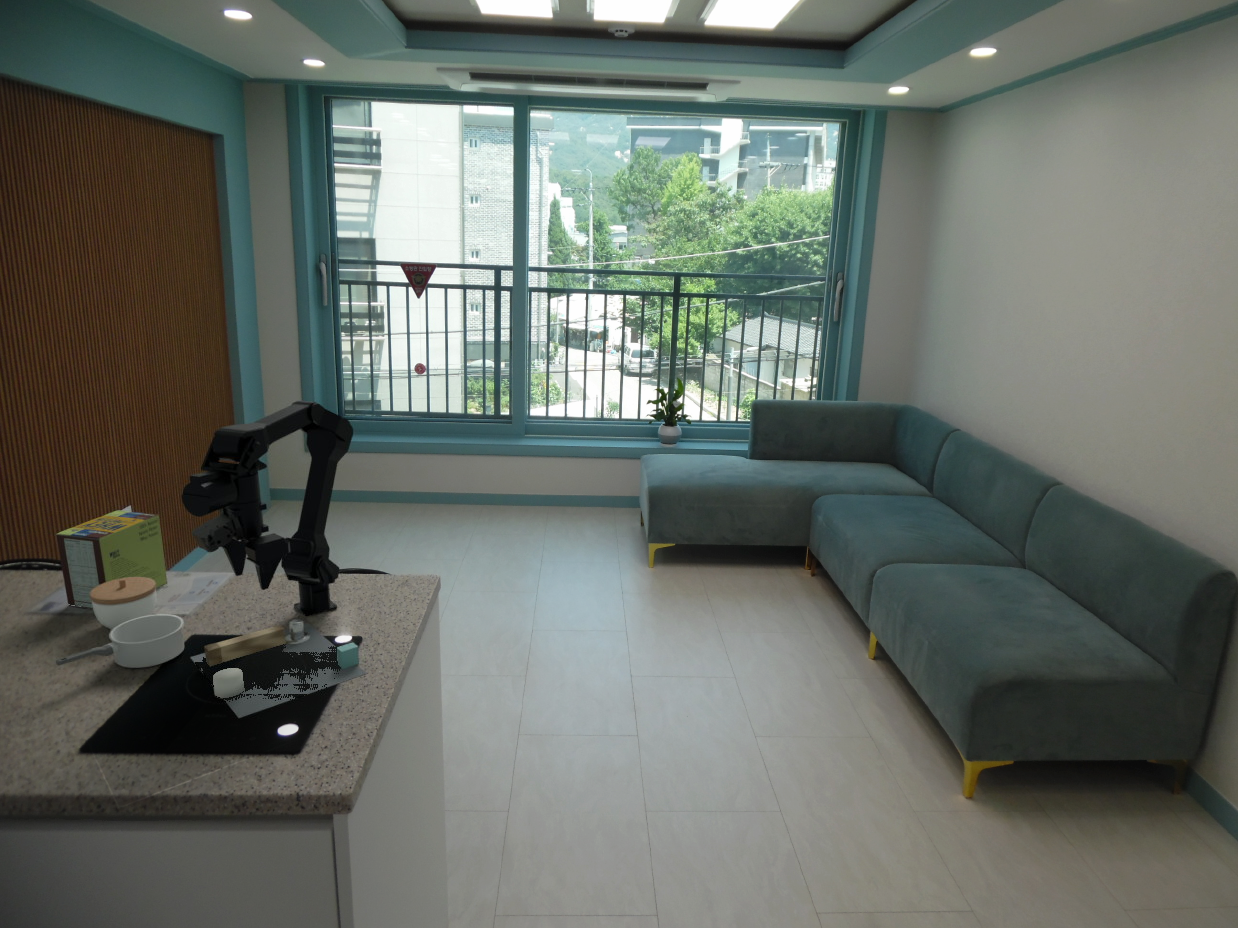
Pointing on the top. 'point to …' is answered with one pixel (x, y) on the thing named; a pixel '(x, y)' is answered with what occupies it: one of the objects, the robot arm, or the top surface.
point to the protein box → (110, 553)
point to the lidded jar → (123, 600)
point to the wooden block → (244, 645)
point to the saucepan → (140, 642)
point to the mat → (312, 645)
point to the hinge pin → (297, 632)
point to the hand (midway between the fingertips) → (251, 582)
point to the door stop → (228, 682)
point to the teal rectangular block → (347, 655)
